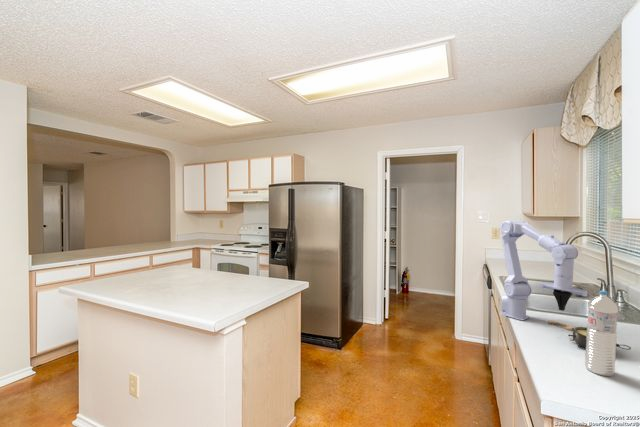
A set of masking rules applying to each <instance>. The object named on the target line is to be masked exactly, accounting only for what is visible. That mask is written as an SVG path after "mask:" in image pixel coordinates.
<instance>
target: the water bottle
mask: <svg viewBox="0 0 640 427" xmlns="http://www.w3.org/2000/svg"><path fill="white" fill-rule="evenodd" d="M598 293H599V295H596V296H594V297H593V298H591V299H590V300H589V301H588V303H587V326H586V328H587V336H586V350H585V358H584V359H585V360H584V362H585V363H584V365H585V368H586V369H587V370H588V371H590V372H591V373H593V374H596V375H598V376H599V375H600V376H604V377H613V376H614V375H615V370H616V355H617V354H616V353H617V352H616V351H617V346H616V344H617V338H618V336H617V334H618V333H617V329H618V328H617V324H618V323H617V321H618V312H619V306H618V305H617V304H616V302H614V301H613V299H611V298H609V297H608V291H606V290H599V292H598Z"/></svg>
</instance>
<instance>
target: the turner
mask: <svg viewBox="0 0 640 427" xmlns="http://www.w3.org/2000/svg"><path fill="white" fill-rule="evenodd" d="M547 323H549V325H552V324H553V326H557V327H559V326H560V328H563V329H564V330H567V331H571V332H573V331H574V330H572V328H573V329H574V328H576V326H572V325H569V324H565V323H561V322H557V321H554V320H548V321H547Z"/></svg>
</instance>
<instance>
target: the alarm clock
mask: <svg viewBox="0 0 640 427" xmlns="http://www.w3.org/2000/svg"><path fill="white" fill-rule="evenodd" d="M575 327H576V326H575ZM572 330H574V331H572V334H567V335H568V337H572V339H570V342H571V341H573V342H575V343H576V344H577V345H581V346H583V347H585V348H586V336H587V327H583V326H577V327H576V328H574V329H573V328H572ZM622 346H623V347H621V344H620V343H616V348H620V349H621V350H631V349H632V347H631V346H629V345H626V344H622ZM624 346H625V347H627V348H624Z"/></svg>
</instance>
